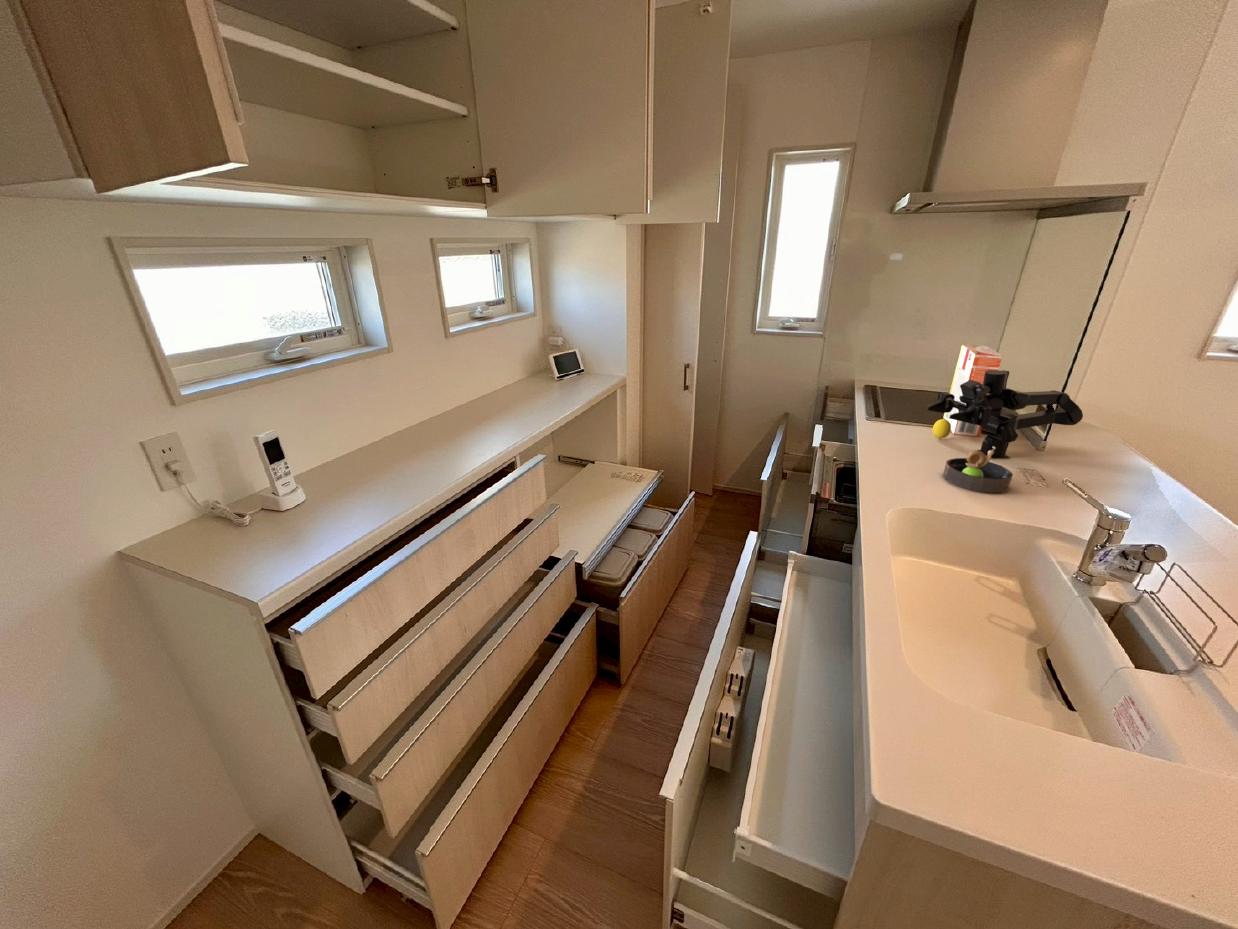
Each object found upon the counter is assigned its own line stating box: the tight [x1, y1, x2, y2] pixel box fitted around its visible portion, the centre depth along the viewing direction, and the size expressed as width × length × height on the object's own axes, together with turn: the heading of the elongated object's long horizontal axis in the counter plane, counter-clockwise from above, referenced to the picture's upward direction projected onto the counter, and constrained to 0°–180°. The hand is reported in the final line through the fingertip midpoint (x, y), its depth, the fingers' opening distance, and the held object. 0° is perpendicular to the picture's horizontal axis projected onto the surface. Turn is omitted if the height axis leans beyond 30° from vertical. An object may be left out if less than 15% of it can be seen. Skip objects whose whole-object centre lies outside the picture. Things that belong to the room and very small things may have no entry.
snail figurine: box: [962, 446, 996, 478], centre depth 143 cm, size 5×6×12 cm
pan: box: [942, 457, 1014, 494], centre depth 147 cm, size 16×16×4 cm
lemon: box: [932, 418, 952, 440], centre depth 181 cm, size 6×6×8 cm
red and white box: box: [942, 344, 1003, 437], centre depth 191 cm, size 23×8×30 cm, turn 157°
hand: (938, 412), depth 158 cm, fingers open, 9 cm apart
